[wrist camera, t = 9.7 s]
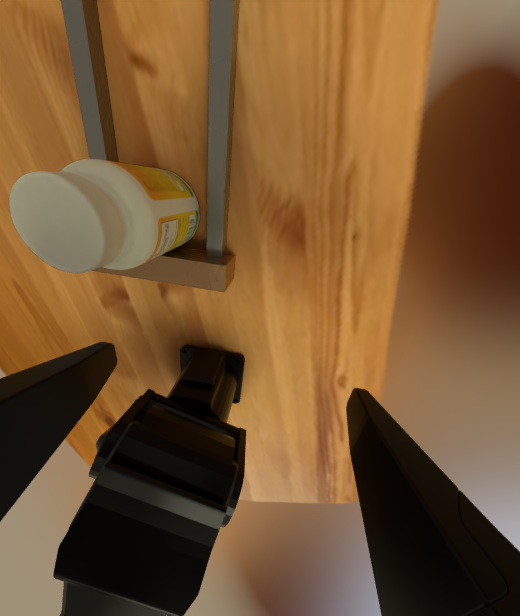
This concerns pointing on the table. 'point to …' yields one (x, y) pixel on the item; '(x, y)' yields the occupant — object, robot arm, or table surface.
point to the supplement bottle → (103, 214)
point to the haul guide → (222, 65)
